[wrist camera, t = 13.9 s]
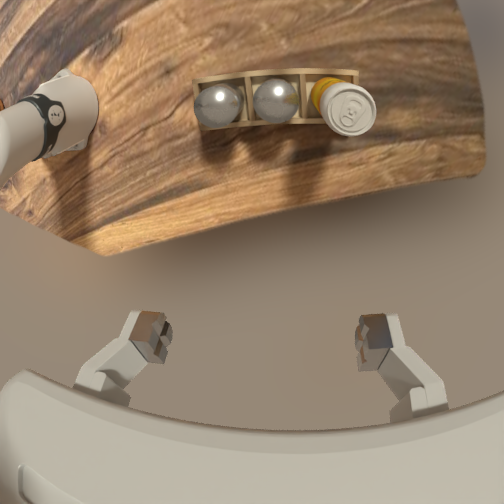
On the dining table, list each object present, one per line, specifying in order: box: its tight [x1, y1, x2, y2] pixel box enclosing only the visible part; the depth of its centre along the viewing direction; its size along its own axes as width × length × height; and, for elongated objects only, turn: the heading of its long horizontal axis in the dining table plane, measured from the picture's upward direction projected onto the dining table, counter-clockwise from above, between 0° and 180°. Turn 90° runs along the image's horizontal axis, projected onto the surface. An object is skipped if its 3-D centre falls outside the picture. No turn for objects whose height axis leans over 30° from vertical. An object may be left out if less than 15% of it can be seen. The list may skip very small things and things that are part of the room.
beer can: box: [311, 77, 376, 136], centre depth 30 cm, size 6×6×15 cm
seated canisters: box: [194, 78, 299, 128], centre depth 35 cm, size 14×6×7 cm, turn 96°
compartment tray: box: [192, 68, 359, 131], centre depth 37 cm, size 25×9×4 cm, turn 96°
